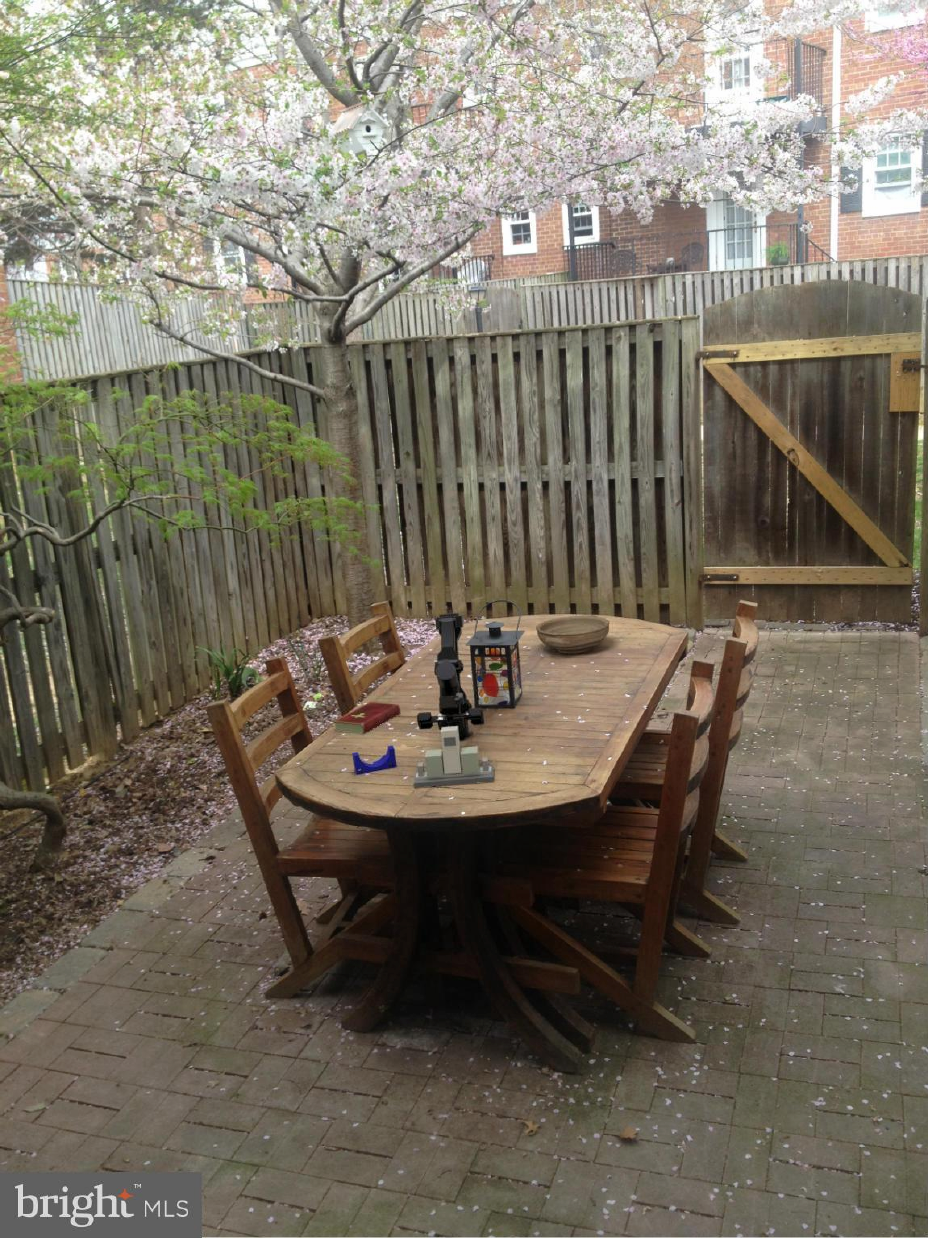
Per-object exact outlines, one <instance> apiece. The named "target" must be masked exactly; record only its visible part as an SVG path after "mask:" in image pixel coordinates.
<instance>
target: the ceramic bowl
mask: <svg viewBox="0 0 928 1238" xmlns="http://www.w3.org/2000/svg"><path fill="white" fill-rule="evenodd" d="M535 629H536V634H537V637H538V639H539V641H540V642H541V643H543V644H544V645H545V646H546V647H550V648H552V649H555V650H556V649H557V652H559V653H561V654H567V653H574V654H581V653H585V652H588V651H590V650H591V649H592V647H594V646H596V645H598V644H601V642H603V641H604V640H605V639H606V638H607V636H608V634H609V632H610V621H609V620H608V619H607V618H604V617H601V616H597V615H594V614H593V615H572V616H562V617H558V618H557V617H556V618H551V619H548V620H545V621H543V622H540V623H539V624H537V625H536V627H535Z"/></svg>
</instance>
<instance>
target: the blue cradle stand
mask: <svg viewBox="0 0 928 1238" xmlns="http://www.w3.org/2000/svg"><path fill="white" fill-rule="evenodd" d="M386 748H387V750H386V754H383V756H382V757H381V758H379V759H378V760H375V761H373V763H368V762H365V761H364V760H362V759H361V757H360V755H359V753H358V751H356V752H352V761H353V762H352V763H353V769H354V773H355V776H359V775H363V774H369V773H374V772H379V771H385V770H391V769H394V768H397V767H398V766H397V758H396V748H395V746H394V745H388V746H387V747H386Z"/></svg>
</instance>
